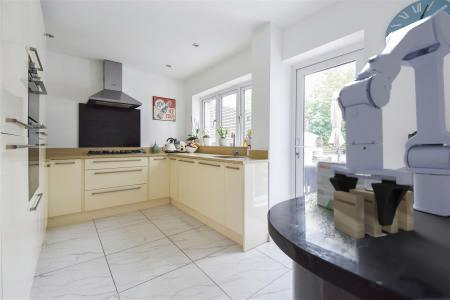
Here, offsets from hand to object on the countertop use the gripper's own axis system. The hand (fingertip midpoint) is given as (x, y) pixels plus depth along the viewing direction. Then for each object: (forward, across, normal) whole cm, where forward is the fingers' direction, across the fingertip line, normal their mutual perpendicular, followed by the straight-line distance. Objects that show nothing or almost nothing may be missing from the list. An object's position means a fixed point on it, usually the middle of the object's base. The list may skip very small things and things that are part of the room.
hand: (364, 217), depth 38 cm
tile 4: (+2, 0, -4) cm, 4 cm away
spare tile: (+2, 0, 0) cm, 2 cm away
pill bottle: (+2, -14, +13) cm, 19 cm away
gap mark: (+2, 0, 0) cm, 2 cm away
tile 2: (+2, 0, +4) cm, 4 cm away
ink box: (+2, -14, +6) cm, 16 cm away
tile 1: (+2, 0, +8) cm, 8 cm away
